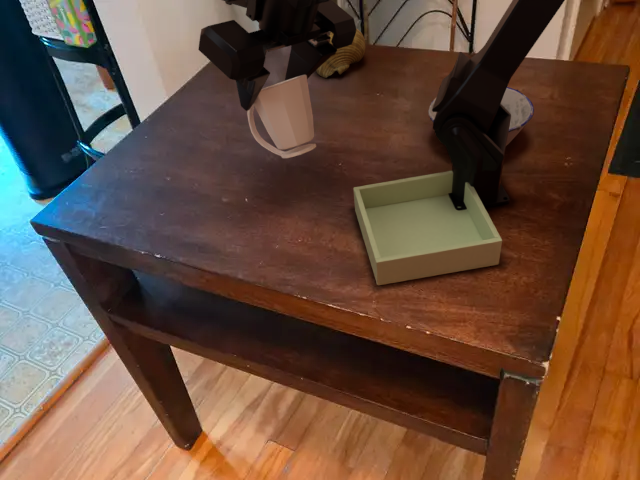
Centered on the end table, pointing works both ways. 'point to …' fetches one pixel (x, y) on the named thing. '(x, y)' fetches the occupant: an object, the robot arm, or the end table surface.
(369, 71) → the end table surface
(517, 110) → the bowl
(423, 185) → the tray
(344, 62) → the seashell
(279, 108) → the cup
